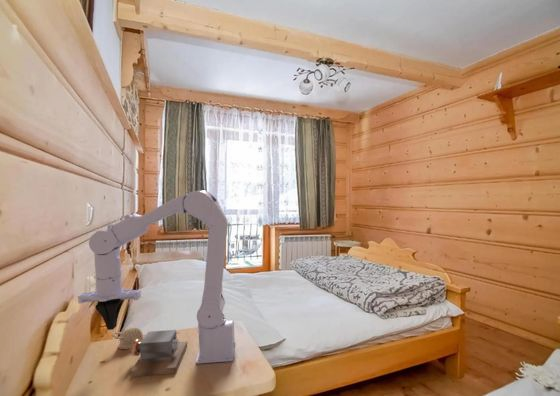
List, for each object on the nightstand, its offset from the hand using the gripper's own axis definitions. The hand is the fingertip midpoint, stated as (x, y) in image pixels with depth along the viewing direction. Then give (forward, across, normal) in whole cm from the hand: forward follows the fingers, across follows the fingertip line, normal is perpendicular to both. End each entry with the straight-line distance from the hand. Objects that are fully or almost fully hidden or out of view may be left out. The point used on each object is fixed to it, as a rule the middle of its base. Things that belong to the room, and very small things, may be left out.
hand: (112, 327), depth 77 cm
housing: (+9, +12, 0) cm, 16 cm away
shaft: (+7, +11, 0) cm, 13 cm away
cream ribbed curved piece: (+10, 0, +8) cm, 13 cm away
